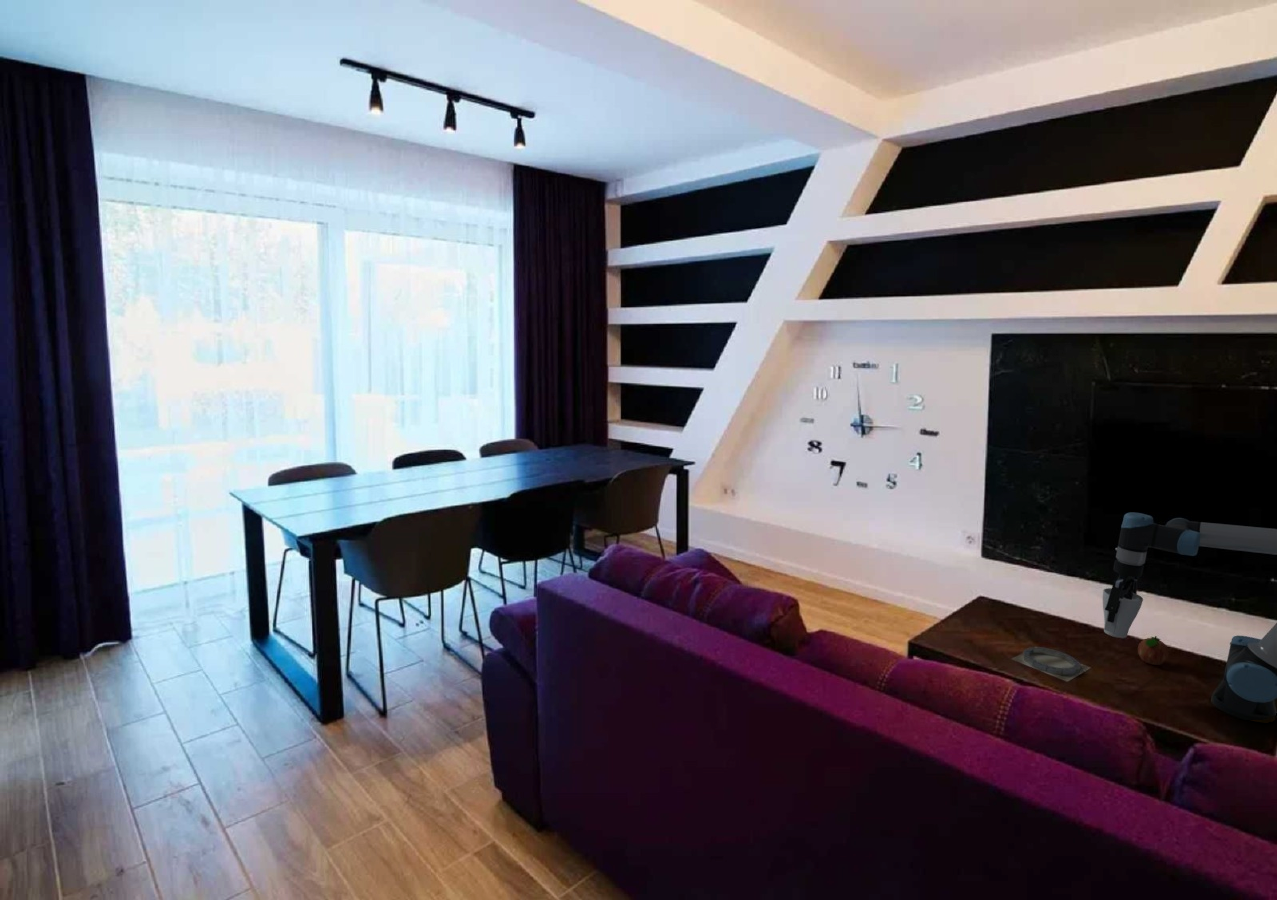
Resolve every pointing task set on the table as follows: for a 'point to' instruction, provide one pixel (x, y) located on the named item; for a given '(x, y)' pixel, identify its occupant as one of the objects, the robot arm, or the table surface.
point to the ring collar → (1050, 669)
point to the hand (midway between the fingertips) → (1116, 627)
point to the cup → (1122, 613)
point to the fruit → (1153, 651)
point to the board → (1052, 664)
